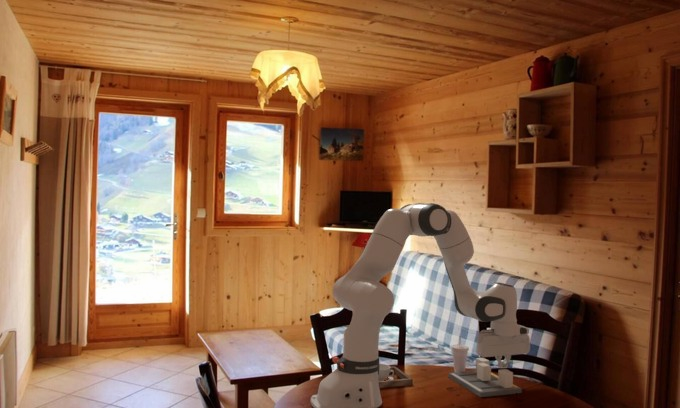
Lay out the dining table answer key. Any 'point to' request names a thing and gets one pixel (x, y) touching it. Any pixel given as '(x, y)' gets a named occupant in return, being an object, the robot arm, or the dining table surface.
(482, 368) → the white rectangular block
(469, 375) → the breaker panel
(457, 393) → the dining table surface
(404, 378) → the square wooden tray
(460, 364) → the smoothie
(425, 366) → the dining table surface
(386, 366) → the teacup
